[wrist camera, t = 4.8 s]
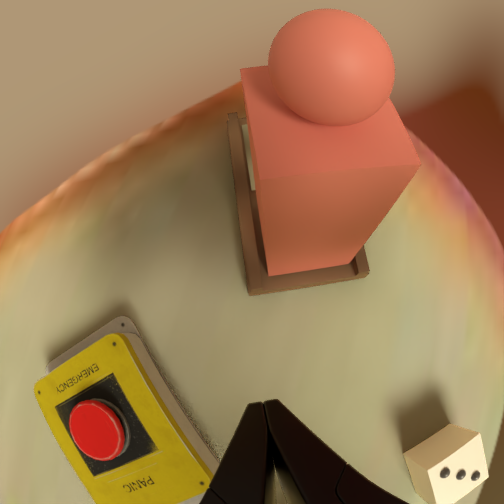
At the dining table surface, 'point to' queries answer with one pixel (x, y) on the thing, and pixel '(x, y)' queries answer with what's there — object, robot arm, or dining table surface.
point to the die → (447, 465)
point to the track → (253, 234)
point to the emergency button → (123, 422)
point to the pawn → (324, 140)
